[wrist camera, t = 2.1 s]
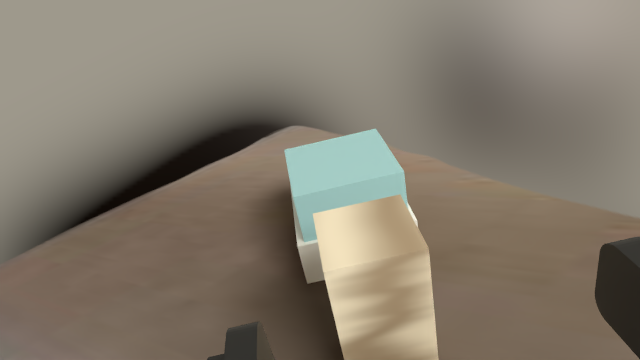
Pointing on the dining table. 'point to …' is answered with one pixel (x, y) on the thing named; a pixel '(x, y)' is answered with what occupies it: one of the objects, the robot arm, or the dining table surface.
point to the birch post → (378, 280)
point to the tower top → (341, 175)
